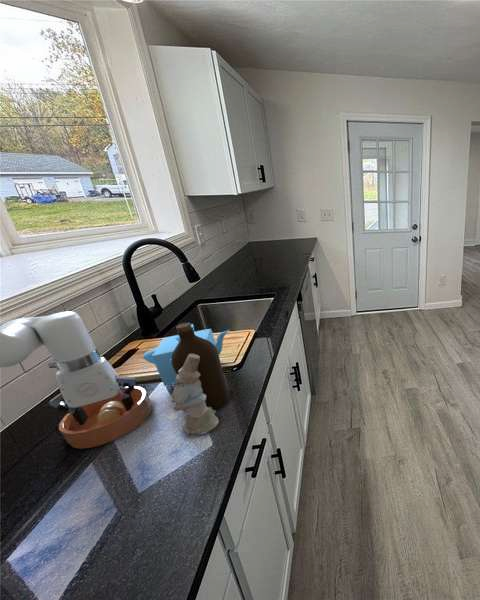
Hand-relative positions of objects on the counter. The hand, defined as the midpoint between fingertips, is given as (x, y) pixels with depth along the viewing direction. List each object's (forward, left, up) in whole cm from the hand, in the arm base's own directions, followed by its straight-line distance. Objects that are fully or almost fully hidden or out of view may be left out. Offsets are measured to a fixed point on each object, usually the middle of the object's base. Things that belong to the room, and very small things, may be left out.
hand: (107, 414), depth 84 cm
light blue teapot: (+20, +13, -3) cm, 24 cm away
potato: (0, 0, -2) cm, 2 cm away
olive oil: (+24, -6, -3) cm, 25 cm away
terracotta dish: (0, 0, -3) cm, 3 cm away
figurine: (+22, -15, -3) cm, 27 cm away
